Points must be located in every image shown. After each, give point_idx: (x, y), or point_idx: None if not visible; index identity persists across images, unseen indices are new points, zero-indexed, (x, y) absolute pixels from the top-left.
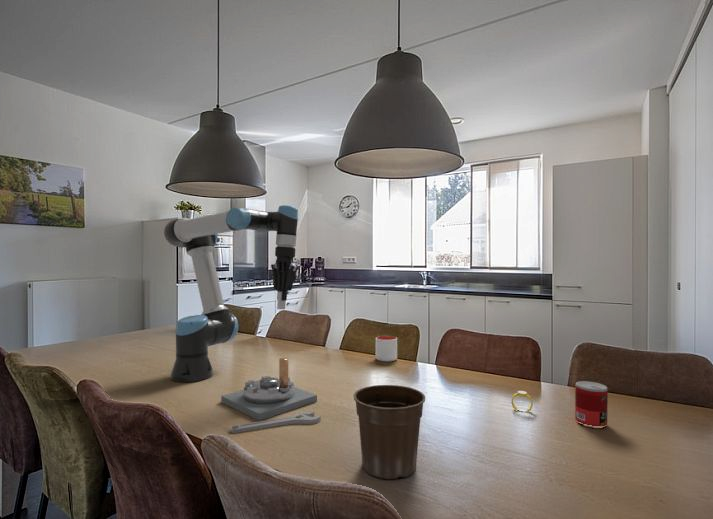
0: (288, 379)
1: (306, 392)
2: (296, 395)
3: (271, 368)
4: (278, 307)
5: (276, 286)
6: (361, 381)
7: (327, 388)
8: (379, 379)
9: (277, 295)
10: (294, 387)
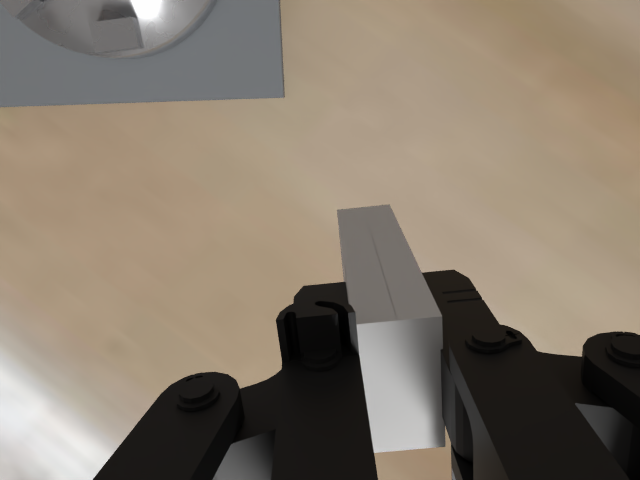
0: (95, 42)
1: (42, 94)
2: (32, 33)
3: (547, 242)
4: (364, 214)
5: (609, 399)
6: (97, 398)
7: (111, 242)
8: (72, 462)
9: (478, 301)
10: (140, 98)
